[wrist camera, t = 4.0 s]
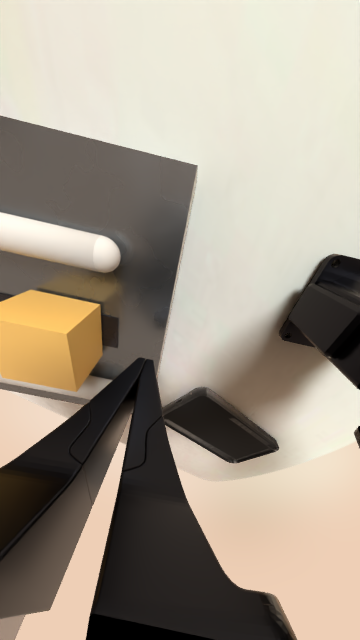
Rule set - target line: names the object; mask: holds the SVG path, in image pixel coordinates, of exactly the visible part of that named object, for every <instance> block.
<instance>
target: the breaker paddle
mask: <svg viewBox="0 0 360 640" xmlns="http://www.w3.org/2000/svg"><path fill="white" fill-rule="evenodd" d="M102 355H103V352H102V330H101V307H100V304H96V303H91V302H86V301H82V300H77V299H72V298H68V297H63V296H59V295H54V294H49V293H45V292H40V291H35V290H29V291H26V292H24V293H21V294H19V295H16V296H14V297H11V298H9V299H7V300H4V301H2V302H0V374H1V376H2V378H6V379H11V380H17V381H22V382H27V383H32V384H37V385H43V386H48V387H53V388H58V389H63V390H68V391H74V392H77V391H78V390H79V388H80V387H81V385H82V384H83V382H84V381H85V380H86V378H87V377H88V375H89V374H90V372H91V371H92V369H93V368H94V367H95V365H96V364H97V362H98V361H99V359H100V358H101V357H102Z"/></svg>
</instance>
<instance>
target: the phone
mask: <svg viewBox="0 0 360 640" xmlns="http://www.w3.org/2000/svg"><path fill="white" fill-rule="evenodd" d="M181 399H182V400H181ZM179 400H181V401H180V402H178V403H177V401H179ZM162 411H163V417H164V422H165V425H166V426H168V427H170V428H171V429H173V430H175V431H176V432H178V433H180V434H181V435H183V436H185V437H186V438H188V439H190V440H191V441H193V442H195V443H197V444H198V445H200V446H202V447H203V448H205V449H207V450H208V451H210V452H212V453H213V454H215V455H217V456H218V457H220V458H222V459H223V460H225V461H227V462H229V463H240V462H243V461H246V460H250V459H253V458H256V457H260V456H263V455H266V454H270V453H273V452H276V451H278V449H279V447H278V444H277V441H276V440H275V439H274V438H273V437H271V436H270V435H269V434H267V433H266V432H265V431H264V430H262V429H261V428H260V427H258V426H257V425H256V424H254V423H253V422H252V421H251V420H249V419H248V418H247V417H245V416H244V415H243V414H241V413H240V412H239V411H238V410H236V409H235V408H234V407H232V406H231V405H230V404H228V403H227V402H226V401H225V400H223V399H222V398H221V397H219V396H218V395H217V394H215V393H214V392H213V391H212V390H210V389H208V388H205V387H200V388H196V389H194V390H192V391H191V392H189V393H187V394H186V395H184V396H182V397H180V398H179V399H177V400H175V401H173V402H172V403H170V404H168V405H167V406H165V407H163V408H162Z"/></svg>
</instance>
